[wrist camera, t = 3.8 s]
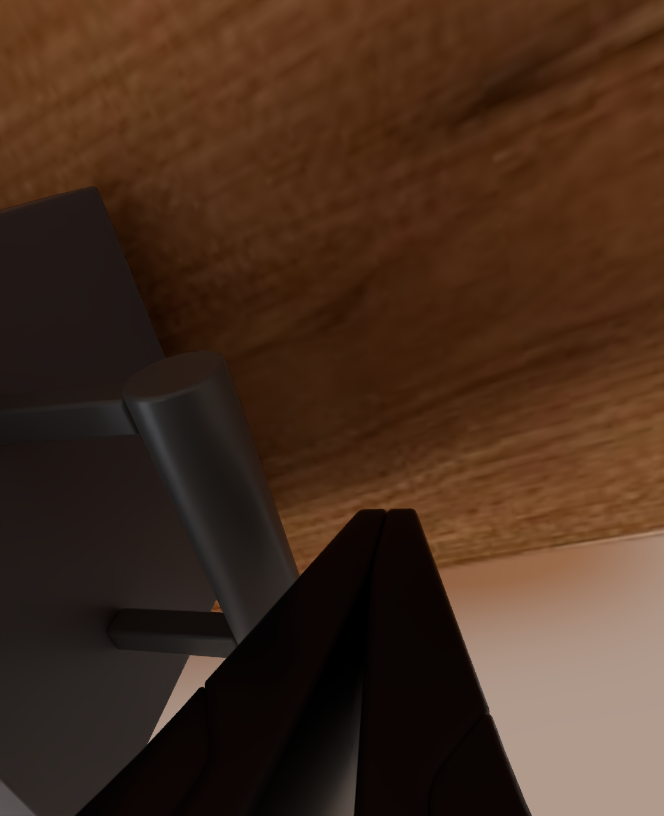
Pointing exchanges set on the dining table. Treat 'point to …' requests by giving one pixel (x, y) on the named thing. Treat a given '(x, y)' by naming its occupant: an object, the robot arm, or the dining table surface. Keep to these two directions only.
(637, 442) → the dining table surface
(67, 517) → the drawer
